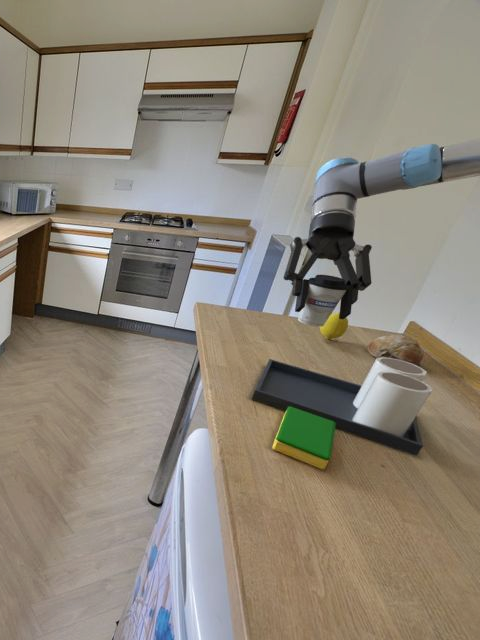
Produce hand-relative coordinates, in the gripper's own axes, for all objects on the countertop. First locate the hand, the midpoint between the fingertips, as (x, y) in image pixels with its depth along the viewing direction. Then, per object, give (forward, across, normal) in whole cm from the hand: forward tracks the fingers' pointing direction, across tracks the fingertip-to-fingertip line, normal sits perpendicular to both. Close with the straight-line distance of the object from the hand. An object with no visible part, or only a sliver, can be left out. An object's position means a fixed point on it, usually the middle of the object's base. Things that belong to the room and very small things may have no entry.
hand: (321, 312), depth 84 cm
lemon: (-12, -15, -36) cm, 41 cm away
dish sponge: (+30, +3, +6) cm, 30 cm away
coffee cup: (0, 0, -5) cm, 5 cm away
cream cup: (+16, -12, -6) cm, 21 cm away
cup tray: (+17, -5, -6) cm, 19 cm away
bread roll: (-8, -27, -32) cm, 42 cm away
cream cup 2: (+21, -10, -1) cm, 24 cm away
